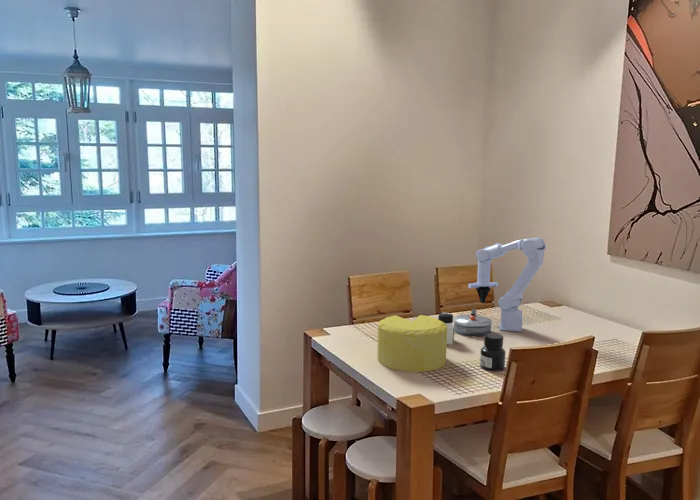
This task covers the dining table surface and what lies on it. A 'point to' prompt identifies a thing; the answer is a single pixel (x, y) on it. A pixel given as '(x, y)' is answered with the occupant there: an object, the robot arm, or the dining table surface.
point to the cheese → (412, 343)
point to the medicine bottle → (448, 326)
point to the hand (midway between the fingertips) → (482, 302)
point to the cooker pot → (471, 330)
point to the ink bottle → (492, 352)
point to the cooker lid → (472, 320)
